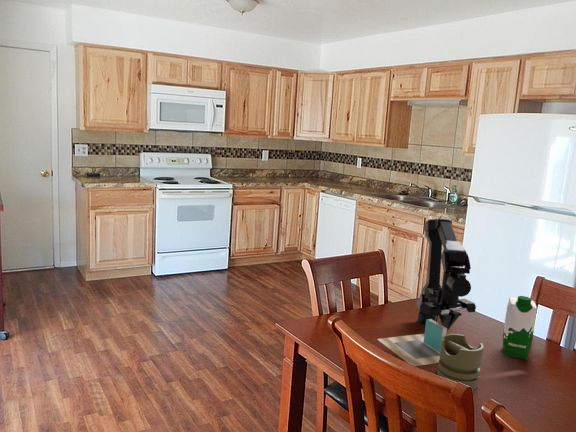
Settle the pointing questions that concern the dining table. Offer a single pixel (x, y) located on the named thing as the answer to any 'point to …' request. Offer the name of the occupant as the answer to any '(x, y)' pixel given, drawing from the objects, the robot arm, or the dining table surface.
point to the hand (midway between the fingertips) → (444, 331)
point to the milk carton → (519, 327)
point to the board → (412, 349)
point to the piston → (460, 360)
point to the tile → (434, 334)
